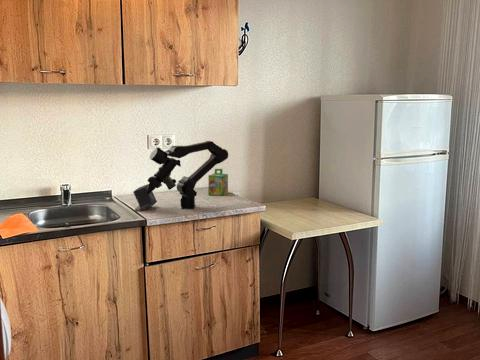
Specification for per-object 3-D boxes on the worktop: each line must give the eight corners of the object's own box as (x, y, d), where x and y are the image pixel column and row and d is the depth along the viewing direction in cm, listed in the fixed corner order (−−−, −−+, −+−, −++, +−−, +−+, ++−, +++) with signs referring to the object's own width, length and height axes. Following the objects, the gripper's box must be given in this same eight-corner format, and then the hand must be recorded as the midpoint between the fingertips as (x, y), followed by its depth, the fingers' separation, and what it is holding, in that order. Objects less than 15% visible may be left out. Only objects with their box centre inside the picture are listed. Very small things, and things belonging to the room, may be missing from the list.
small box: (153, 206, 229) (144, 186, 228) (141, 211, 230) (132, 192, 229) (157, 201, 240) (149, 182, 238) (146, 206, 241) (137, 187, 239)
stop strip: (145, 206, 241) (145, 203, 241) (139, 211, 230) (139, 209, 229) (140, 206, 241) (140, 203, 241) (134, 211, 230) (134, 209, 229)
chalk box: (208, 195, 267) (207, 169, 264) (213, 192, 276) (213, 167, 273) (223, 196, 264) (223, 170, 262) (228, 193, 273) (228, 168, 270)
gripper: (176, 181, 219) (156, 206, 221) (183, 176, 238) (165, 200, 240) (157, 166, 219) (137, 192, 221) (165, 163, 237) (147, 187, 239)
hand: (148, 193), depth 230 cm, fingers closed, pressing on small box
